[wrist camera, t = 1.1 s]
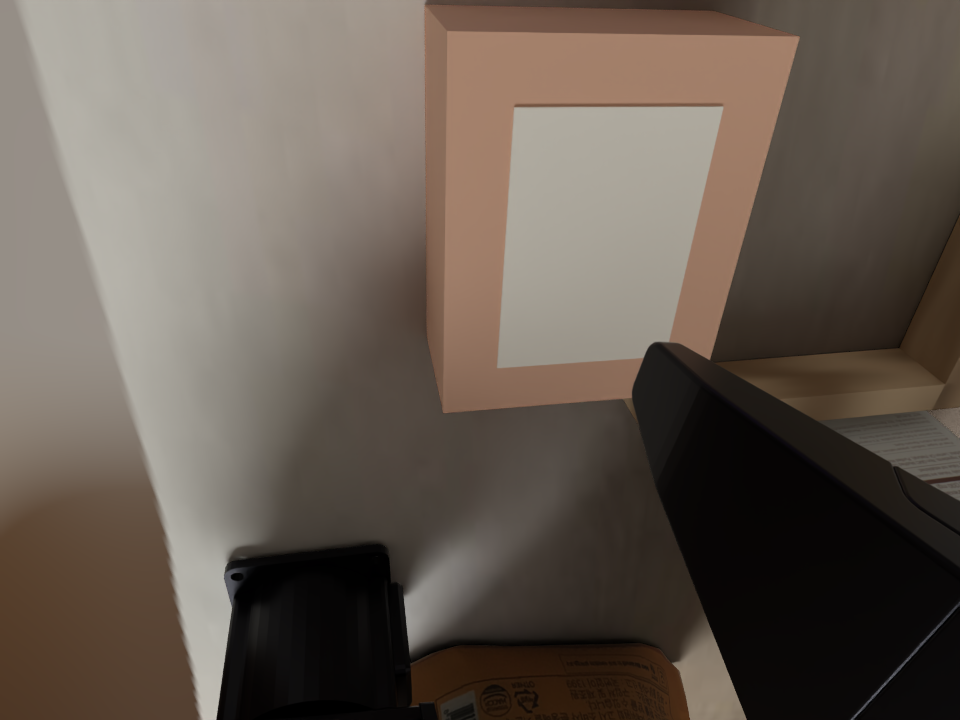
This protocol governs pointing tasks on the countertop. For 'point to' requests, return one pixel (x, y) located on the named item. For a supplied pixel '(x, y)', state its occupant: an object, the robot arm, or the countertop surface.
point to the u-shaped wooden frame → (876, 362)
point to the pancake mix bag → (550, 683)
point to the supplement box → (909, 445)
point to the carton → (586, 190)
